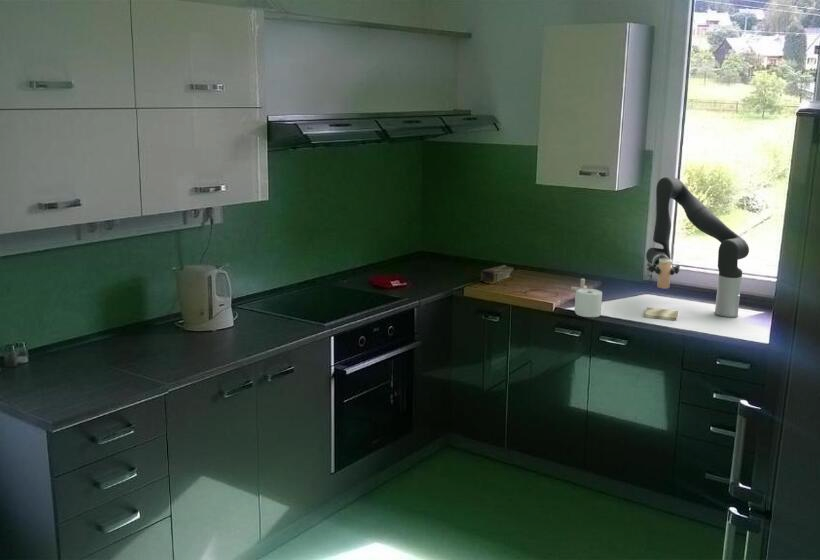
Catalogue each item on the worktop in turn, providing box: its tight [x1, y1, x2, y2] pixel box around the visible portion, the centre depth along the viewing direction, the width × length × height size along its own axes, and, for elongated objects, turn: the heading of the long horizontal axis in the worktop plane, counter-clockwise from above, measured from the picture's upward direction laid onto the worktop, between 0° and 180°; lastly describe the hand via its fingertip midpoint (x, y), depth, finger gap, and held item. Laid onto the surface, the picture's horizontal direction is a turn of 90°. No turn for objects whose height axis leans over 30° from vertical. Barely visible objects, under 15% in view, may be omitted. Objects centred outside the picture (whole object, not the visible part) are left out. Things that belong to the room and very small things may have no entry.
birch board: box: [643, 307, 679, 321], centre depth 349 cm, size 13×12×1 cm
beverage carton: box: [480, 264, 515, 282], centre depth 407 cm, size 8×19×7 cm, turn 140°
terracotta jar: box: [656, 258, 673, 290], centre depth 345 cm, size 5×5×12 cm
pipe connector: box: [570, 278, 588, 292], centre depth 371 cm, size 10×10×10 cm
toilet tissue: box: [574, 288, 603, 318], centre depth 349 cm, size 11×12×10 cm
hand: (665, 272), depth 342 cm, fingers closed on terracotta jar, 5 cm apart
